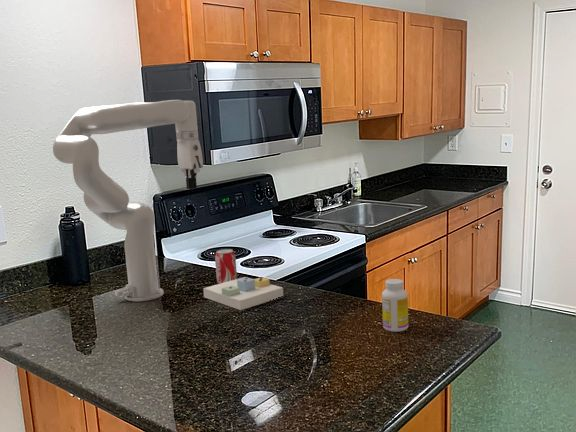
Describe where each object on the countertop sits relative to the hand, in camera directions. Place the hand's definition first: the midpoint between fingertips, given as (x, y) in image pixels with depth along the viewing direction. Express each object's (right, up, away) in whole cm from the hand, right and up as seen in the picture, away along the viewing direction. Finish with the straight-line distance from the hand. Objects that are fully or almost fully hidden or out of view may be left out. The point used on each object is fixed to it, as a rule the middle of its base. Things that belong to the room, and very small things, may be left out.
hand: (191, 188), depth 209 cm
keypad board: (+20, -36, -19) cm, 45 cm away
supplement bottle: (+63, -40, -53) cm, 91 cm away
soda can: (+13, -34, -4) cm, 36 cm away
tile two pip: (+21, -34, -21) cm, 45 cm away
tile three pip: (+26, -34, -17) cm, 46 cm away
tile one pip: (+17, -36, -25) cm, 47 cm away
